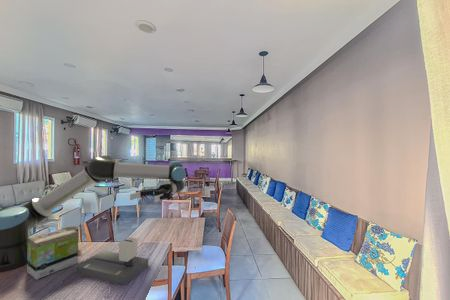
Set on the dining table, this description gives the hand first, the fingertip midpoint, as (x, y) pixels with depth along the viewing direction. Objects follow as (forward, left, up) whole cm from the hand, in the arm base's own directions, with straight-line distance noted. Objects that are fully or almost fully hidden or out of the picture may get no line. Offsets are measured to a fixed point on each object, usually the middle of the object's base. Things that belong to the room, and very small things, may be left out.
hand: (142, 198), depth 102 cm
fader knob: (+3, -13, -25) cm, 28 cm away
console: (-5, -13, -28) cm, 31 cm away
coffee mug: (-41, -4, -28) cm, 50 cm away
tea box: (-30, -20, -28) cm, 46 cm away
